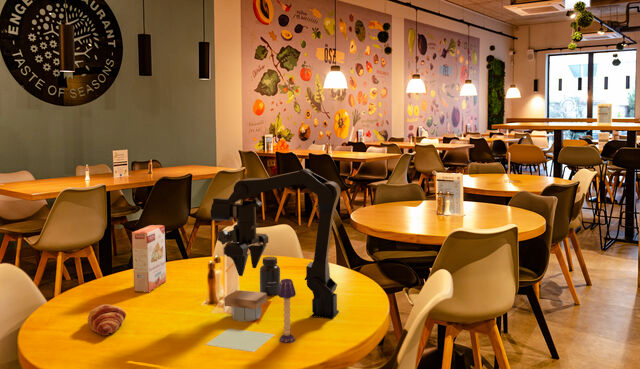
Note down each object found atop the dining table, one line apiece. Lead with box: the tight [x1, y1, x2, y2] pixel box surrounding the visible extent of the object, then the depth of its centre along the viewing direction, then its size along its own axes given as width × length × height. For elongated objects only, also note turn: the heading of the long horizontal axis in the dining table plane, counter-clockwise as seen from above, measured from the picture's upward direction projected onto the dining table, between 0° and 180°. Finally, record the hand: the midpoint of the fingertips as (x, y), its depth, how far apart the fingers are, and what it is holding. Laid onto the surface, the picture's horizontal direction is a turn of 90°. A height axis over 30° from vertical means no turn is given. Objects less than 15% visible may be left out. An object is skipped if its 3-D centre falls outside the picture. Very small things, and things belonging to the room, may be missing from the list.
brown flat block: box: [223, 289, 268, 309], centre depth 164 cm, size 10×7×2 cm
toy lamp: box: [277, 278, 297, 344], centre depth 146 cm, size 5×5×17 cm
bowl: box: [231, 305, 262, 322], centre depth 165 cm, size 8×8×4 cm
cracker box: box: [131, 224, 167, 293], centre depth 196 cm, size 14×6×21 cm, turn 171°
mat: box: [204, 327, 276, 353], centre depth 148 cm, size 14×12×1 cm
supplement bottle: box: [259, 256, 281, 297], centre depth 188 cm, size 7×7×12 cm
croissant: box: [87, 303, 127, 336], centre depth 160 cm, size 21×10×8 cm, turn 22°
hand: (247, 271), depth 170 cm, fingers open, 9 cm apart
